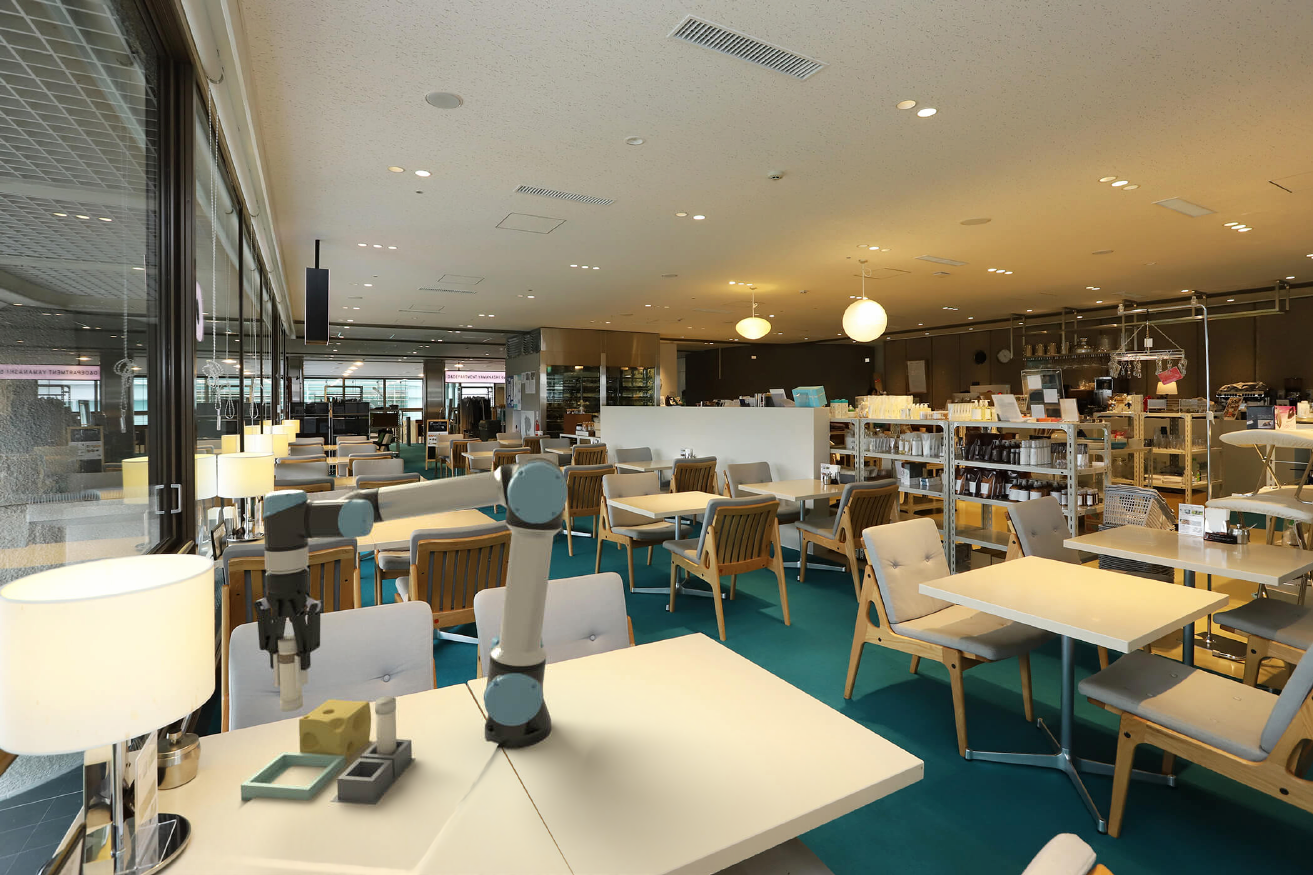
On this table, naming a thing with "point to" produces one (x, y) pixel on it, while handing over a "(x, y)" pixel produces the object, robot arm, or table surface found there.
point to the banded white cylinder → (288, 675)
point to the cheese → (336, 728)
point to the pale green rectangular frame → (276, 767)
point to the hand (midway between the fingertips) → (291, 684)
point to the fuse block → (376, 761)
